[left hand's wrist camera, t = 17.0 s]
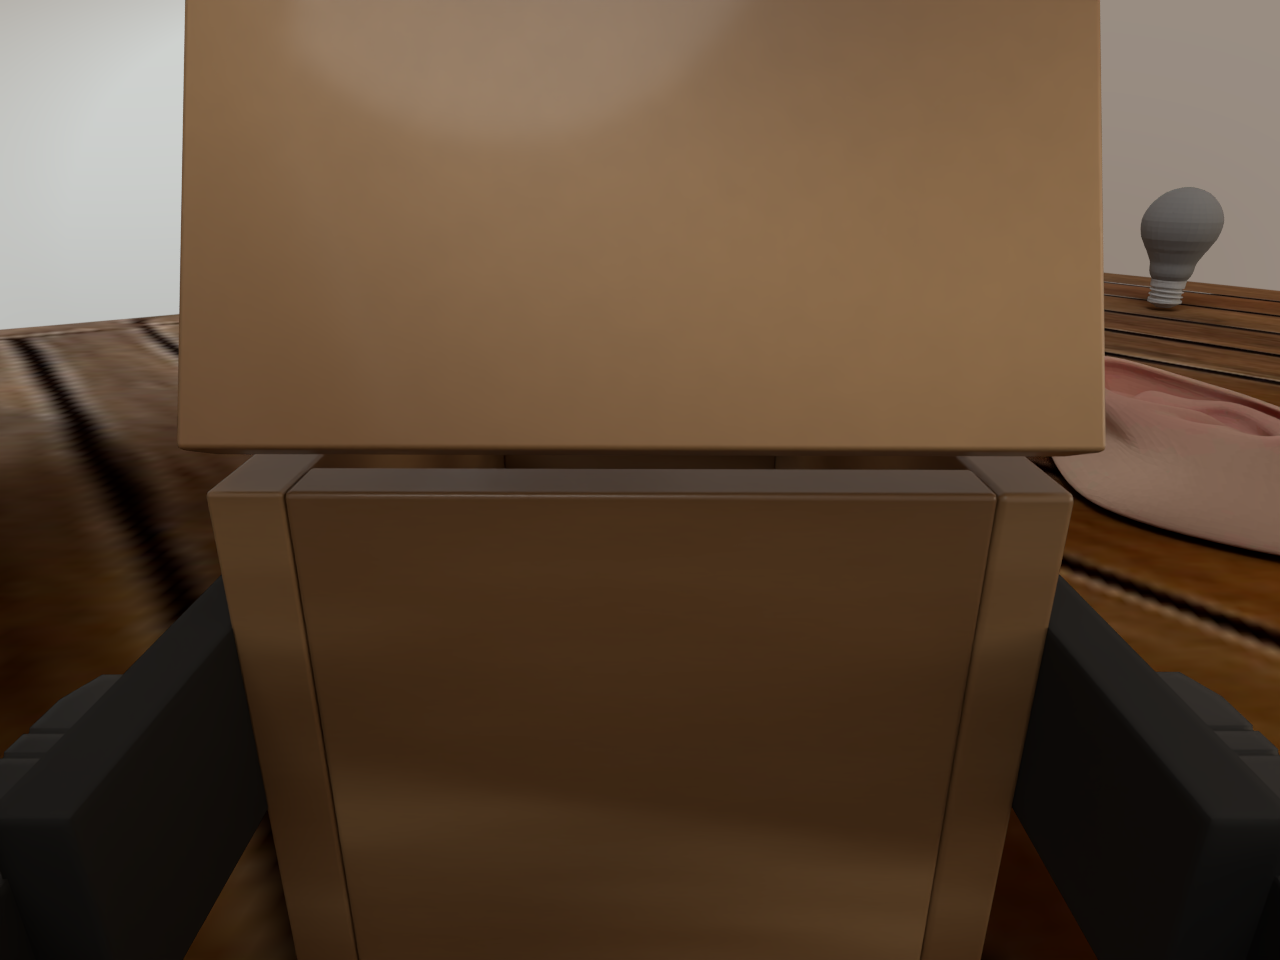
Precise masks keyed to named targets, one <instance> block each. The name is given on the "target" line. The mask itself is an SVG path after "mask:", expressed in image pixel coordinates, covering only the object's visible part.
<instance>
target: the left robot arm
mask: <svg viewBox="0 0 1280 960" xmlns="http://www.w3.org/2000/svg"><path fill="white" fill-rule="evenodd" d="M1252 726H1253V725H1252V724H1251V723H1249V722H1248V721H1247V720H1246V719H1245V718H1244V717H1243V716H1242V715H1241V714H1240V713H1239V712H1238V711H1237V710H1236V709H1235V708H1234V707H1232V706H1231V705H1230V704H1229V703H1228V702H1227V701H1226V700H1225V699H1224V698H1223V697H1222V696H1220V695H1218V694H1217V693H1215V692H1213V691H1211V690H1210V689H1208V688H1206V687H1204V686H1203V685H1201V684H1199V683H1198V682H1196V681H1194V680H1192V679H1191V678H1189V677H1187V676H1185V675H1184V674H1182V673H1180V672H1155V671H1154V670H1153V669H1152V668H1151V667H1150V666H1149V665H1148V664H1147V663H1146V662H1145V661H1144V660H1143V659H1142V658H1141V657H1140V656H1139V655H1138V654H1137V653H1136V652H1135V651H1134V650H1133V649H1132V648H1131V647H1130V646H1129V645H1128V644H1127V643H1126V642H1125V641H1124V640H1123V639H1122V638H1121V637H1120V636H1119V635H1118V633H1117V632H1116V631H1115V630H1114V629H1113V628H1112V627H1111V626H1110V625H1109V624H1108V623H1107V622H1106V621H1105V620H1104V619H1103V618H1102V617H1101V616H1100V615H1099V614H1098V613H1097V612H1096V611H1095V610H1094V609H1093V608H1092V607H1091V606H1090V605H1089V604H1088V603H1087V602H1086V601H1085V600H1084V599H1083V598H1082V597H1081V596H1080V595H1079V594H1078V593H1077V592H1076V591H1075V590H1074V589H1073V588H1072V587H1071V586H1070V585H1069V584H1068V583H1067V582H1066V581H1065V580H1064V579H1063V578H1062V577H1061V576H1060V575H1059V576H1058V581H1057V586H1056V591H1055V596H1054V601H1053V606H1052V611H1051V615H1050V620H1049V625H1048V630H1047V635H1046V640H1045V645H1044V650H1043V655H1042V660H1041V665H1040V670H1039V675H1038V679H1037V684H1036V689H1035V694H1034V699H1033V704H1032V709H1031V714H1030V719H1029V724H1028V729H1027V734H1026V739H1025V743H1024V748H1023V753H1022V758H1021V763H1020V768H1019V773H1018V778H1017V783H1016V788H1015V793H1014V798H1013V803H1012V808H1013V809H1014V811H1015V813H1016V815H1017V817H1018V818H1019V820H1020V822H1021V824H1022V825H1023V827H1024V829H1025V831H1026V833H1027V834H1028V836H1029V838H1030V840H1031V841H1032V843H1033V845H1034V847H1035V848H1036V850H1037V852H1038V854H1039V856H1040V857H1041V859H1042V861H1043V863H1044V864H1045V866H1046V868H1047V870H1048V871H1049V873H1050V875H1051V877H1052V879H1053V880H1054V882H1055V884H1056V886H1057V887H1058V889H1059V891H1060V893H1061V895H1062V896H1063V898H1064V900H1065V902H1066V903H1067V905H1068V907H1069V909H1070V910H1071V912H1072V914H1073V916H1074V918H1075V919H1076V921H1077V923H1078V925H1079V926H1080V928H1081V930H1082V932H1083V933H1084V935H1085V937H1086V939H1087V941H1088V942H1089V944H1090V946H1091V948H1092V949H1093V951H1094V953H1095V955H1096V957H1097V958H1098V960H1280V755H1279V754H1278V749H1277V748H1276V747H1275V746H1274V745H1273V744H1272V743H1271V742H1270V741H1269V740H1268V739H1266V738H1265V737H1264V736H1263V735H1262V734H1261V733H1260V732H1259V731H1253V728H1252ZM267 809H268V804H267V799H266V794H265V789H264V784H263V779H262V774H261V769H260V764H259V759H258V754H257V749H256V744H255V739H254V734H253V729H252V724H251V719H250V714H249V709H248V704H247V699H246V694H245V689H244V684H243V679H242V674H241V668H240V663H239V658H238V653H237V648H236V643H235V638H234V633H233V628H232V624H231V619H230V614H229V609H228V604H227V599H226V593H225V588H224V583H223V578H222V575H221V576H220V577H219V578H218V579H217V580H216V581H215V582H214V583H213V584H212V585H211V586H210V587H209V588H208V589H207V590H206V591H205V592H204V593H203V594H202V595H201V596H200V597H199V598H198V599H197V600H196V601H195V602H194V603H193V604H192V605H191V606H190V607H189V608H188V609H187V610H186V611H185V612H184V613H183V614H182V615H181V616H180V617H179V618H178V619H177V620H176V621H175V622H174V623H173V624H172V625H171V626H170V627H169V628H168V629H167V630H166V631H165V632H164V634H163V635H162V636H161V637H160V638H159V639H158V640H157V641H156V642H155V643H154V644H153V645H152V646H151V647H150V648H149V649H148V650H147V651H146V652H145V653H144V654H143V655H142V656H141V657H140V658H139V659H138V660H137V661H136V662H135V663H134V664H133V665H132V666H131V667H130V668H129V669H128V670H127V671H126V672H125V673H124V674H123V675H101V676H99V677H98V678H96V679H94V680H92V681H91V682H89V683H87V684H86V685H84V686H82V687H80V688H79V689H77V690H75V691H74V692H72V693H70V694H68V695H67V696H65V697H63V698H61V699H60V700H59V701H58V702H57V703H56V704H55V705H54V706H52V707H51V708H50V709H49V710H48V711H47V712H46V713H45V714H44V715H43V716H42V717H41V718H40V719H39V720H38V721H37V722H36V723H35V724H33V725H32V726H31V727H30V731H29V734H23V735H22V736H21V737H20V738H19V739H18V740H17V741H16V742H14V743H13V744H12V745H11V746H10V747H9V748H8V749H7V750H6V751H5V752H4V757H3V759H0V960H183V958H184V956H185V955H186V953H187V951H188V949H189V948H190V946H191V944H192V942H193V940H194V939H195V937H196V935H197V933H198V932H199V930H200V928H201V926H202V925H203V923H204V921H205V919H206V917H207V916H208V914H209V912H210V910H211V909H212V907H213V905H214V903H215V901H216V900H217V898H218V896H219V894H220V893H221V891H222V889H223V887H224V886H225V884H226V882H227V880H228V878H229V877H230V875H231V873H232V871H233V870H234V868H235V866H236V864H237V862H238V861H239V859H240V857H241V855H242V854H243V852H244V850H245V848H246V847H247V845H248V843H249V841H250V839H251V838H252V836H253V834H254V832H255V831H256V829H257V827H258V825H259V823H260V822H261V820H262V818H263V816H264V815H265V813H266V811H267Z"/></svg>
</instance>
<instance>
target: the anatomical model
mask: <svg viewBox="0 0 1280 960" xmlns="http://www.w3.org/2000/svg"><path fill="white" fill-rule="evenodd" d="M1105 430H1106V446H1105V449H1104V451H1101V452H1099V453H1091V454H1082V455H1074V456H1065V457H1052V458H1053V460H1054V462H1055V464H1056V466H1057V467H1058V469H1059V471H1060V472H1061V474H1062V475H1063V477H1064V478H1065V479H1066V480H1067V482H1068V483H1069V484H1070V485H1071V486H1072V487H1073V488H1074V489H1075V490H1076V491H1077V492H1079V493H1080V494H1081V495H1082V496H1084V497H1085V498H1086V499H1088V500H1090V501H1091V502H1093V503H1095V504H1096V505H1098V506H1100V507H1102V508H1104V509H1107V510H1109V511H1112V512H1114V513H1117V514H1119V515H1122V516H1125V517H1127V518H1130V519H1133V520H1136V521H1139V522H1143V523H1146V524H1149V525H1152V526H1155V527H1158V528H1162V529H1166V530H1169V531H1173V532H1177V533H1181V534H1184V535H1188V536H1192V537H1196V538H1201V539H1205V540H1209V541H1213V542H1217V543H1221V544H1226V545H1230V546H1235V547H1239V548H1244V549H1248V550H1253V551H1258V552H1263V553H1268V554H1274V555H1279V556H1280V407H1278V406H1275V405H1272V404H1269V403H1267V402H1264V401H1261V400H1258V399H1255V398H1252V397H1249V396H1246V395H1243V394H1241V393H1238V392H1234V391H1231V390H1228V389H1224V388H1221V387H1218V386H1214V385H1211V384H1207V383H1204V382H1201V381H1197V380H1194V379H1191V378H1187V377H1184V376H1181V375H1177V374H1174V373H1171V372H1168V371H1164V370H1161V369H1157V368H1154V367H1150V366H1147V365H1143V364H1140V363H1136V362H1132V361H1128V360H1124V359H1119V358H1114V357H1107V356H1105Z"/></svg>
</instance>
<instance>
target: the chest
mask: <svg viewBox="0 0 1280 960" xmlns="http://www.w3.org/2000/svg"><path fill="white" fill-rule="evenodd" d="M207 502H208V507H209V512H210V517H211V522H212V527H213V532H214V537H215V542H216V548H217V553H218V558H219V563H220V568H221V573H222V578H223V583H224V588H225V593H226V599H227V604H228V609H229V614H230V619H231V624H232V628H233V633H234V638H235V643H236V648H237V653H238V658H239V663H240V668H241V674H242V679H243V684H244V689H245V694H246V699H247V704H248V709H249V714H250V719H251V724H252V729H253V734H254V739H255V744H256V749H257V754H258V759H259V764H260V769H261V774H262V779H263V784H264V789H265V794H266V799H267V804H268V813H269V818H270V823H271V828H272V833H273V839H274V844H275V849H276V854H277V859H278V864H279V869H280V874H281V879H282V884H283V890H284V895H285V900H286V905H287V910H288V915H289V920H290V925H291V930H292V936H293V941H294V946H295V951H296V956H297V960H981V955H982V950H983V945H984V940H985V935H986V931H987V926H988V921H989V916H990V911H991V906H992V901H993V896H994V891H995V886H996V881H997V876H998V871H999V867H1000V862H1001V857H1002V852H1003V847H1004V842H1005V837H1006V832H1007V827H1008V822H1009V817H1010V812H1011V807H1012V803H1013V798H1014V793H1015V788H1016V783H1017V778H1018V773H1019V768H1020V763H1021V758H1022V753H1023V748H1024V743H1025V739H1026V734H1027V729H1028V724H1029V719H1030V714H1031V709H1032V704H1033V699H1034V694H1035V689H1036V684H1037V679H1038V675H1039V670H1040V665H1041V660H1042V655H1043V650H1044V645H1045V640H1046V635H1047V630H1048V625H1049V620H1050V615H1051V611H1052V606H1053V601H1054V596H1055V591H1056V586H1057V581H1058V576H1059V571H1060V566H1061V561H1062V556H1063V551H1064V547H1065V542H1066V537H1067V532H1068V527H1069V522H1070V517H1071V512H1072V507H1073V497H1072V494H1071V493H1069V492H1068V491H1067V490H1066V489H1064V488H1063V487H1062V486H1061V485H1059V484H1058V483H1057V482H1056V481H1054V480H1053V479H1052V478H1051V477H1050V476H1048V475H1047V474H1046V473H1045V472H1043V471H1042V470H1041V469H1040V468H1038V467H1037V466H1036V465H1035V464H1033V463H1032V462H1031V461H1030V460H1028V459H1027V458H1026V457H1025V456H700V455H352V454H255V455H254V456H253V457H251V458H250V459H249V460H248V461H246V462H245V463H244V464H243V465H241V466H240V467H239V468H238V469H236V470H235V471H234V472H233V473H231V474H230V475H229V476H227V477H226V478H225V479H224V480H222V481H221V482H220V483H219V484H217V485H216V486H215V487H214V488H212V489H211V490H210V491H209V492H208V493H207Z"/></svg>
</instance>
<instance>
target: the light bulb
mask: <svg viewBox="0 0 1280 960" xmlns="http://www.w3.org/2000/svg"><path fill="white" fill-rule="evenodd" d="M1223 224H1224V214H1223V210H1222V207H1221V205H1220V204H1219V202H1218V201H1217V199H1216V198H1215V197H1214V196H1213V195H1212V194H1211V193H1209V192H1207V191H1205V190H1202V189H1198V188H1193V187H1184V188H1179V189H1175V190H1172V191H1169V192H1167V193H1165V194H1164V195H1162V196H1160V197H1159V198H1158V199H1157V200H1155V201H1154V202H1153V203H1152V204H1151V205H1150V207H1149V208H1148V209H1147V211H1146V212H1145V214H1144V216H1143V218H1142V222H1141V237H1142V240H1143V243H1144V246H1145V248H1146V250H1147V253H1148V256H1149V259H1150V270H1149V271H1150V275H1151V277H1152V278H1151V286H1152V287H1150V289H1151V290H1152V291H1150V292H1149V294H1151V295H1150V296H1148V299H1147V301H1148V302H1150V303H1152V304H1154V306H1156V307H1161V308H1171V307H1173V306H1176V305H1178V304H1181V303H1182V301H1181V300H1180V298H1183V297H1181V294H1182V293H1184V292H1182V289H1184V288H1185V286H1186V282H1187V280H1188V279H1189V278H1190V277H1191V275H1192V274H1193V271H1194V268H1195V266H1196V264H1197V262H1198V261H1199V260H1200V259H1201V257H1202V256H1203V255H1204V254H1205V253H1206V252H1207V251H1208V250H1209V248H1210V247H1211V246H1212V245H1213V244H1214V242H1215V241H1216V240H1217V238H1218V237H1219V235H1220V233H1221V230H1222V228H1223Z"/></svg>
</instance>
